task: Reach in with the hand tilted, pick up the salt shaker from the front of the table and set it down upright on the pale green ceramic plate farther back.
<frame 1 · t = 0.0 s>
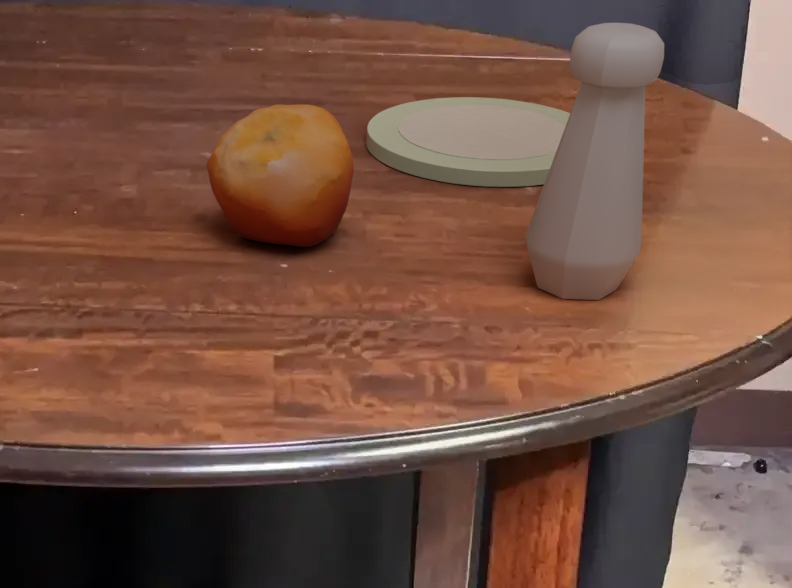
fruit: (278, 238, 86), on the table
salt shaker: (574, 288, 80), on the table
plate: (482, 147, 98), on the table
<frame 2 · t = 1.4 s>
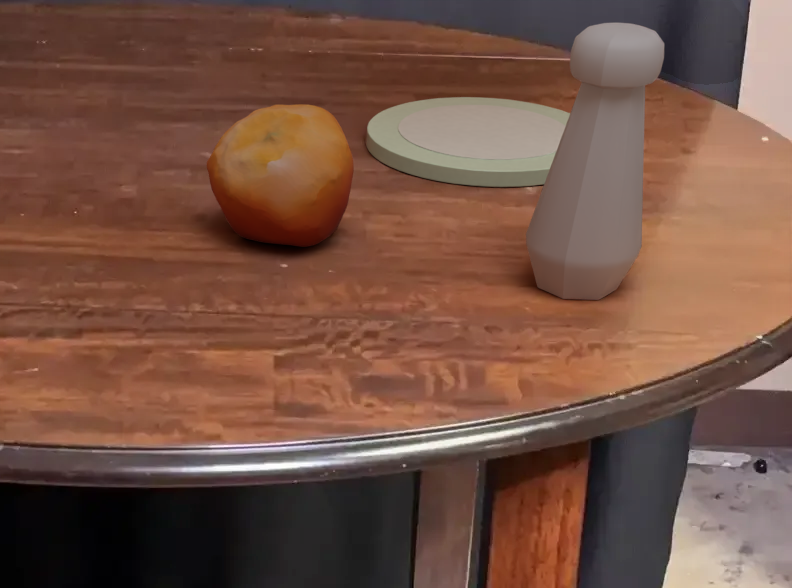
nothing on the table moved.
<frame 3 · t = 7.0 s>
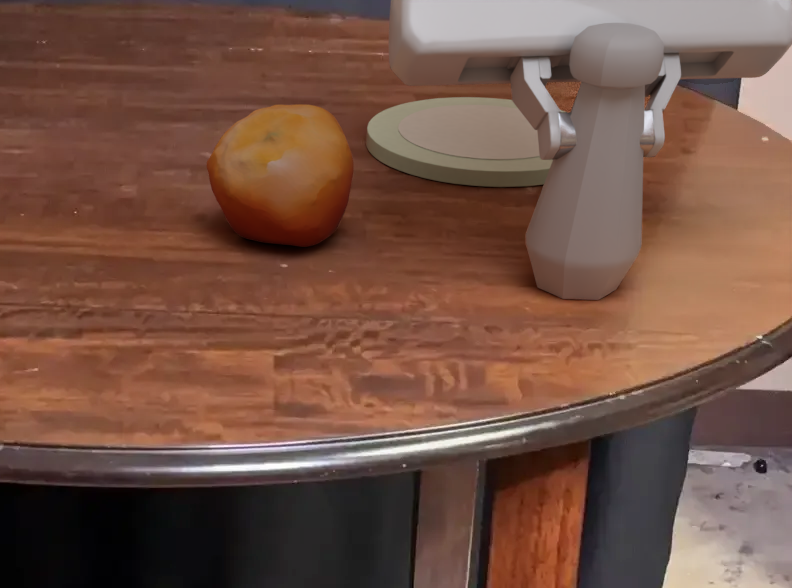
hand: (603, 153, 75), 7 cm above the table, tool tilted 45°, fingers closed on salt shaker, 3 cm apart
salt shaker: (574, 288, 80), on the table, touching gripper
everything else where it was.
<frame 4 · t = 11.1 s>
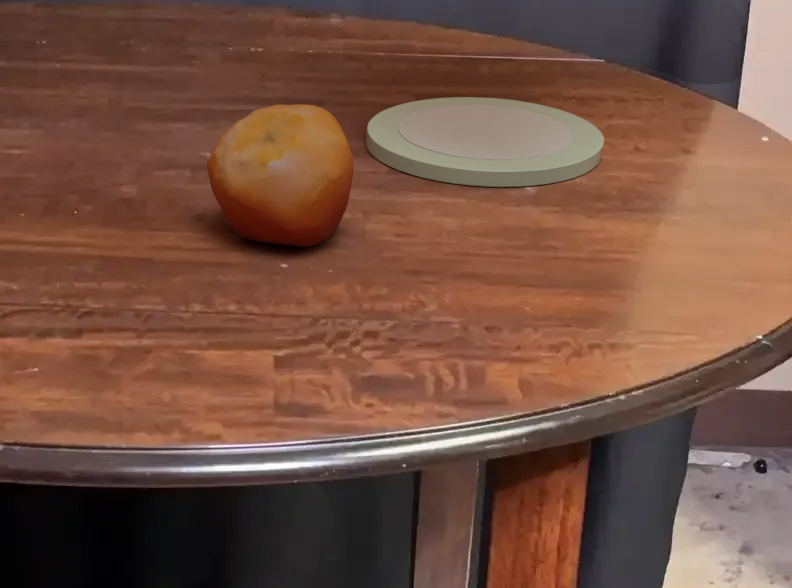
when the fingers open (8 cm above the table, at t = 15.4 s): salt shaker stays where it is, resting on plate.
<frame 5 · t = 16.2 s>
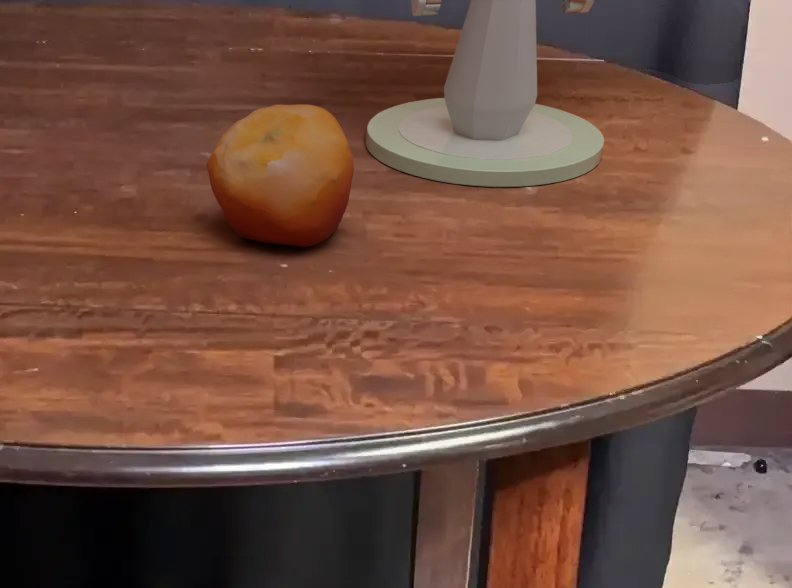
hand: (503, 9, 92), 9 cm above the table, tool tilted 45°, fingers open, 8 cm apart
salt shaker: (484, 133, 98), point 1 cm above the table, touching plate
everything else where it was.
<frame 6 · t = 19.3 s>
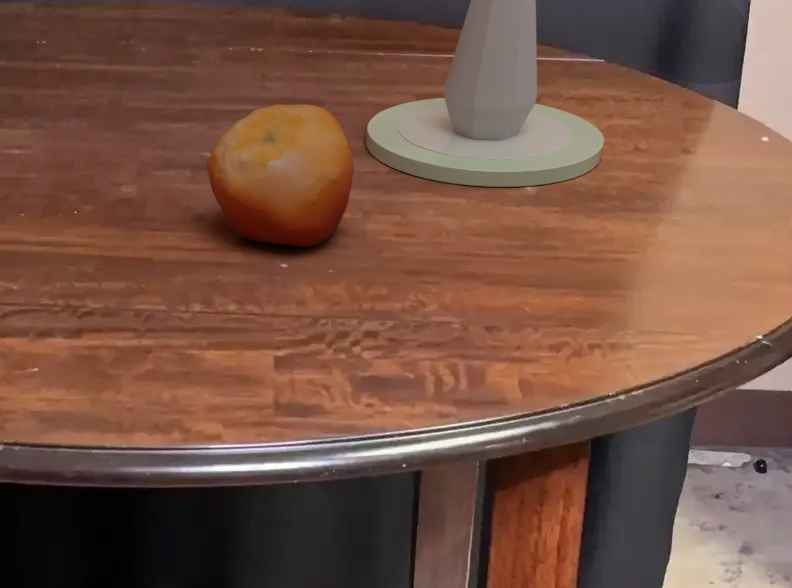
nothing on the table moved.
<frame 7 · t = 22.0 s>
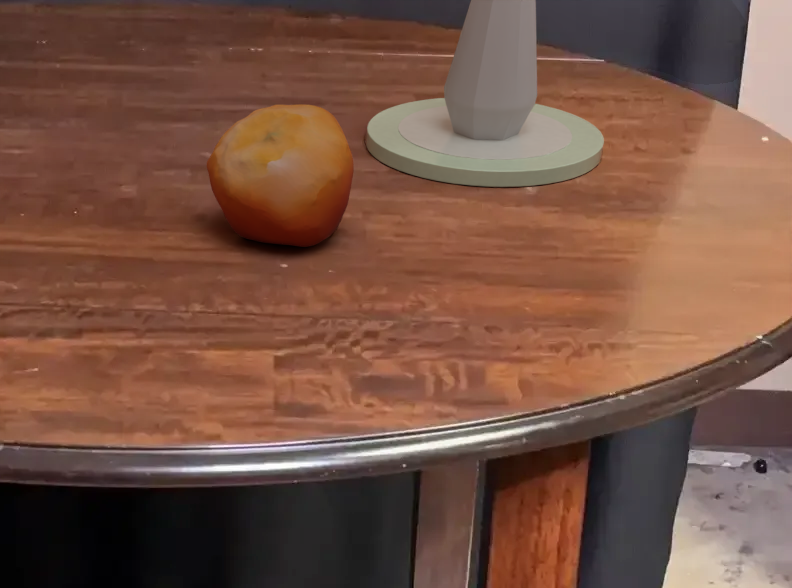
nothing on the table moved.
at the end: salt shaker inside the target area on the plate (0.0 cm from its centre), point 0.9 cm above the plate's base; salt shaker tilted 0°; the gripper is holding nothing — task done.
